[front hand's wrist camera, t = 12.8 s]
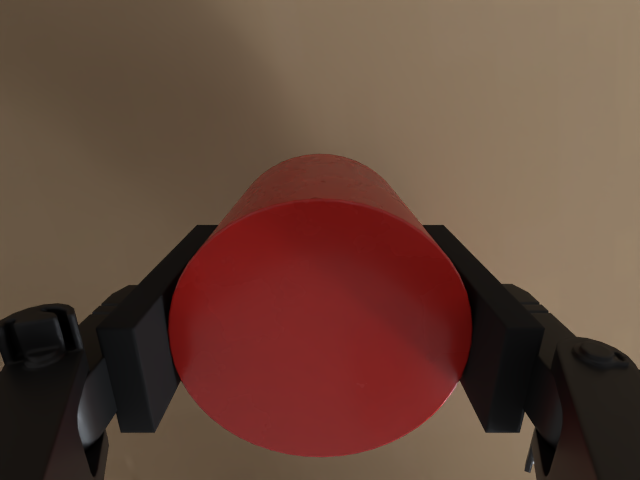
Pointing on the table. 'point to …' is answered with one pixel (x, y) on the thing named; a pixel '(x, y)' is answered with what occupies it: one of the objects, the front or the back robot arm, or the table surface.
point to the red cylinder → (320, 314)
